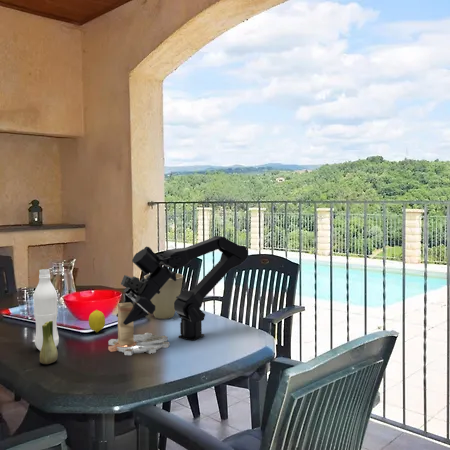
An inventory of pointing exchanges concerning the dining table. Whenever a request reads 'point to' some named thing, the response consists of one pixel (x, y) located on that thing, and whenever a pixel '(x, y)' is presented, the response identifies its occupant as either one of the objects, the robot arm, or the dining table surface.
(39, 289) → the water bottle
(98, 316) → the lemon
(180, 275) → the plant pot
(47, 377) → the dining table surface
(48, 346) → the fennel bulb
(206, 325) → the dining table surface
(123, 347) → the sprocket plate
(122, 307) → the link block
